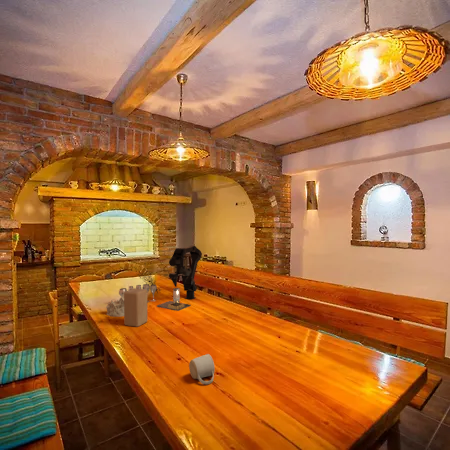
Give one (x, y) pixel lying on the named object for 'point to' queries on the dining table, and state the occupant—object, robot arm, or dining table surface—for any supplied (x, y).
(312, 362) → the dining table surface
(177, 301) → the shiny metal cylinder
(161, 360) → the dining table surface
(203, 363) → the ceramic mug
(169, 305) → the dark grey flat slab
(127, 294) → the wooden block
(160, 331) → the dining table surface
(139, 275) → the dried plant
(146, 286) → the goblet set
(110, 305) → the ceramic cottage
